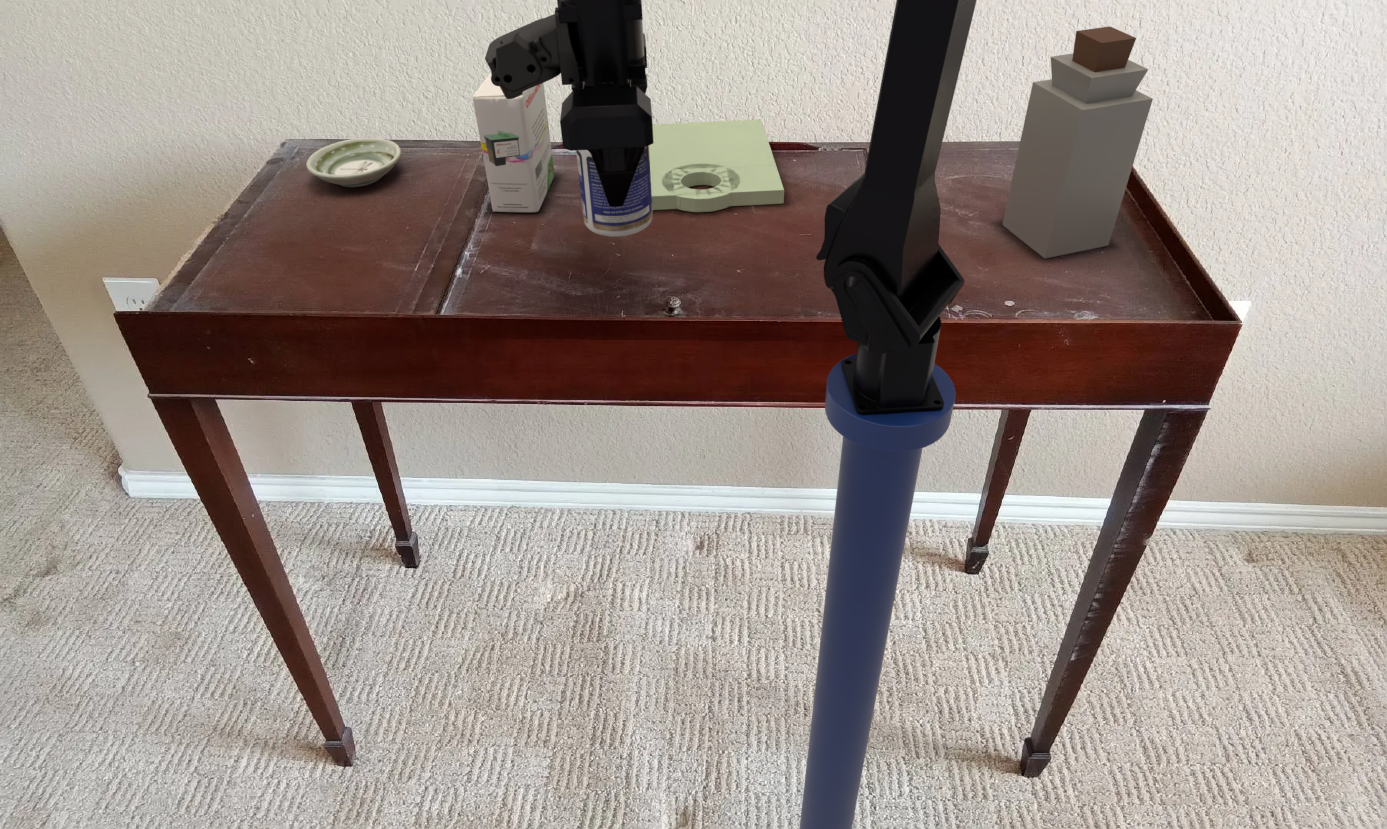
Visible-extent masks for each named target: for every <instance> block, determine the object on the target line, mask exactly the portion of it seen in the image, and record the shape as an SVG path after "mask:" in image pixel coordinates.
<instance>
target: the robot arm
mask: <svg viewBox="0 0 1387 829" xmlns="http://www.w3.org/2000/svg"><path fill="white" fill-rule="evenodd" d="M556 1H557V2H556V3H557V6H556V7H555V8H554V13H553V14H551V15H548V16H546V17H542V18H539V19H537V20H534V21H531V22H530V23H527V24H525V25H523V26H521V27H518V28H516V29H514V30H512V31H509V32H507V33H505V34H503V35H500V36H499V37H497V38H495V39H493V40H492V41H491V42H490V43H489V45H488V47H487V50H486V54H485V57H484V60H485V62H486V64H487V66H488V67H489V70H490V72H491V82H492V83H493V84H494V85H495V86H500V88H501V90H502V92H503V94H504V96H505V98H506V99H513V98H516V97H518V96H521V95H522V93H523V91H525V90H527V89H530V88H532V87H534V86H537V85H539V84H541V83H543V84H544V83H546V82H549V81H551V80H553V79H555V78H556V77H558V76H559V75H560V78H561V85H562V86H571V87H570V88H571V92H570V93H569V94H568V95H567V97H566V98H565V99H564V100H563V101H562V102H561V110H560V117H559V118H560V119H559V124H560V134H561V142H562V148H563V149H566V150H568V151H571V152H572V151H573V152H574V151H576V150H588V151H589V152H590V153H591V156H592V158H593V161H594V164H595V166H596V169H597V172H598V175H599V178H600V181H601V184H602V187H603V189H604V192H605V195H606V198H607V201H608V204H609V206H611V207H618V206H623V204H624V202H625V199H626V196H627V194H628V191H629V188H630V186H631V183H632V180H633V178H634V175H635V172H636V170H637V167H638V164H639V162H640V159H641V157H642V154H643V152H644V149H645V147H647V146H649V145H651V144H653V124H654V123H653V111H652V99H651V97H649V96H648V95H647V94H646V93H647V90H648V75H647V73H646V69H648V56H647V41H646V34H645V33H644V27H643V25H644V24H643V23H644V22H643V2H642V0H556ZM976 5H977V0H896V1H895V7H894V11H893V18H892V24H891V28H890V34H889V39H888V43H887V50H886V55H885V60H884V65H883V72H882V77H881V82H880V87H879V92H878V96H877V97H878V98H877V103H876V108H875V114H874V119H873V125H872V131H871V135H870V141H869V147H868V150H867V151H868V152H867V157H866V163H865V167H864V173H862V174H861V175H860V176H859V177H858V178H857V179H856V180H855V181H853V182H852V183H851V184H850V185H849V186H848V187H846V188H845V189H844V190H842V191H841V193H839V195H837V196H836V197H835V198H834V199H833V200H832V201H831V202H829V203H828V204H827V206H826V209H825V213H824V220H823V221H824V222H823V223H824V235H823V236H824V237H823V238H824V239H823V242H822V246H821V248H820V250H819V252H818V253H817V254H816V256H815V260H816V261H824V264H823V280H824V283H825V286H826V288H827V289H829V290H831V292H832V293H833V295H834V296H835V297H834V298H835V301H836V304H837V307H838V312H839V316H840V319H841V323H842V326H843V330H844V334H845V337H846V339H848V340H851V341H854V342H857V345H856V352H855V354H856V358H847V359H844V358H843V359H841V360H842V364H841V367H842V370H843V374H844V377H845V380H846V383H847V386H848V389H849V392H850V395H851V398H852V401H853V404H854V407H855V411H856V412H857V413H858V414H859V415H877V414H894V413H911V412H928V411H940V410H942V409H943V407H944V401H943V399H942V396H941V394H940V392H939V390H938V387H937V385H936V383H935V381H934V378H933V376H932V373H933V368H934V364H935V362H936V356H937V351H938V346H939V340H940V334H941V328H942V319H941V314H942V313H943V312H944V311H945V309H946V308H947V307H948V306H949V305H950V304H952V302H953V301H954V299H955V298H956V297H957V295H958V294H959V292H960V291H961V289H962V288H963V286H964V285H965V279H964V277H963V276H962V274H961V273H960V271H959V269H957V267H956V266H955V264H954V263H953V262H952V260H951V259H950V258H949V256H948V254H946V252H945V251H944V249H943V248H942V246H941V245H940V243H939V242H940V225H941V211H942V206H941V203H940V198H939V194H938V190H937V185H936V170H937V165H938V162H939V157H940V153H941V149H942V145H943V140H944V137H945V132H946V128H947V124H948V120H949V116H950V112H951V108H952V104H953V100H954V95H955V91H956V88H957V83H958V79H959V75H960V71H961V66H962V64H963V63H962V62H963V59H964V55H965V51H966V46H967V42H968V38H969V34H970V29H971V26H972V22H973V18H974V13H975V9H976Z"/></svg>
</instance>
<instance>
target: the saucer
mask: <svg viewBox="0 0 1387 829" xmlns="http://www.w3.org/2000/svg"><path fill="white" fill-rule="evenodd" d="M401 157H402V149H401V147H400V145H398V143H396V142H394V141H392V140H389V139H386V138H380V137H379V138H378V137H359V138H351V139H345V140H341V141H338V142H334V143H331V144H328V145H325V146H324V147H321V148H320V149H318V150H316V151H314V152H313V153H312V154H310V156H309V157H308V158H307V160H306V162H305V163H306V166H305V167H306V169H307V171H308V172H309V173H310V174H311V175H313V176H314V177H316V178H318V179H320V180H322V181H324V182H326V183H331V184H333V185H339V186H341V187H347V188H358V187H364V186H365V187H366V186H368V185H371V184H373V183H376V182H377V181H380V180H381V179H382V178H383V177H384V176H385V175H387V174H388V173H389V172H390V171H391V170H392V169H393V168H394V167H395V166H396V165H397V163H398V162H399V161H400V160H401Z"/></svg>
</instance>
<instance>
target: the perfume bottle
mask: <svg viewBox="0 0 1387 829" xmlns="http://www.w3.org/2000/svg"><path fill="white" fill-rule="evenodd" d="M1136 40H1137V37H1135V36H1133V35H1131V34H1128V33H1126V32H1124V31H1121V30H1119V29H1117V28H1114V27H1113V26H1110V25H1109V26H1102V27H1093V28H1087V29H1081V30H1076V31H1075V37H1074V44H1073V51H1072V53H1066V54H1060V55H1052V56H1050V67H1051V68H1050V70H1051V72H1050V73H1051V79H1045V80H1037V81H1033V82H1032V84H1031V89H1030V94H1029V99H1028V104H1027V108H1026V113H1025V118H1024V121H1023V126H1022V130H1021V136H1020V141H1019V146H1018V151H1017V155H1016V159H1015V164H1014V168H1013V173H1012V177H1011V182H1010V187H1009V192H1008V196H1007V201H1006V206H1005V210H1004V215H1003V218H1002V219H1003V220H1002V223H1001V225H1002V226H1003V227H1004V228H1006V230H1008V231H1009V232H1010V233H1012V235H1014V236H1015V237H1017V238H1018V239H1019V240H1020V241H1022V242H1023V243H1024V244H1025V245H1027V246H1028V247H1029V248H1030V249H1032V250H1033V251H1034V252H1036V254H1038V255H1039V256H1041V257H1042V259H1050V258H1055V257H1060V256H1064V255H1065V256H1066V255H1069V254H1074V253H1078V252H1084V251H1090V250H1095V249H1099V248H1103V247H1108V246H1109V245H1110V242H1111V238H1112V236H1113V233H1114V229H1115V225H1116V222H1117V219H1118V216H1119V212H1120V209H1121V206H1122V202H1123V200H1124V196H1125V193H1126V190H1127V186H1128V182H1129V179H1130V175H1131V172H1132V169H1133V167H1134V162H1135V159H1136V156H1137V153H1138V150H1139V146H1140V143H1141V140H1142V136H1143V133H1144V130H1145V126H1146V123H1147V120H1148V117H1149V113H1150V109H1151V106H1152V103H1153V99H1154V98H1152V97H1150V96H1149V95H1146V94H1145V93H1142V92H1141V91H1139V90H1137V89H1138V87H1139V86H1140V84H1141V82H1142V81H1143V79H1144V78H1145V76H1146V75H1147V73H1148V71H1149V68H1147V67H1144V66H1143V65H1141V64H1138V63H1137V62H1135V61H1132V60H1130V59H1129V58H1130V56H1131V53H1132V50H1133V48H1134V46H1135V43H1136Z"/></svg>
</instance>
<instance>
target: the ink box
mask: <svg viewBox="0 0 1387 829" xmlns="http://www.w3.org/2000/svg"><path fill="white" fill-rule="evenodd" d="M472 102H473V108H474V113H475V114H474V115H475V119H476V125H477V130H478V135H479V141H480V147H481V152H482V159H483V163H484V169H485V174H486V175H485V176H486V180H487V186H488V192H489V193H488V194H489V198H490V204H491V209H492V212H494V213H538V212H539V211H540V209H541V207H542V205H543V203H544V201H545V198H546V196H547V194H548V192H549V189H550V187H551V185H552V182H553V181H554V178H555V166H554V159H553V150H552V144H551V135H550V126H549V118H548V111H547V110H548V109H547V103H546V94H545V86H544V83H541V84H539V85H537V86H534V87H532V88H530V89H527V90H525V91H523V93H522V95H521V96H518V97H516V98H513V99H506V98H505V96H504V94H503V92H502V90H501V88H500V86H495V85H494V84H493V83H492V82H491V71H490V72H489V74H488V75H487V76H486V78H485V79H484V81H483V82H482V83H481V84H480V86H479V87H478V88H477V89H476V91H475V93H474V94H473V95H472Z"/></svg>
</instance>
